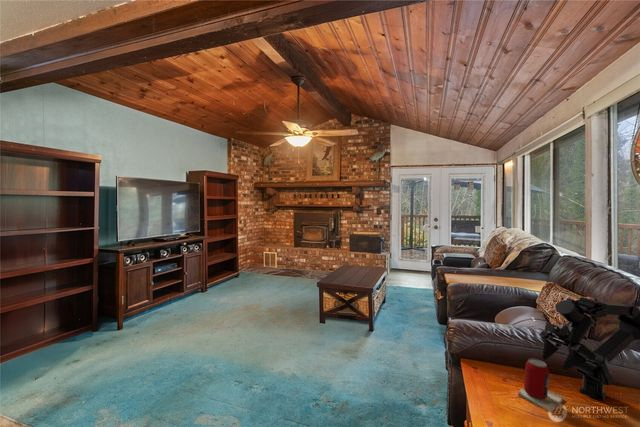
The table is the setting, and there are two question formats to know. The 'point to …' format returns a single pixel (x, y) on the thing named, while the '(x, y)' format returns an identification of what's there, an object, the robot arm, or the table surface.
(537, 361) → the beverage can
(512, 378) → the table surface
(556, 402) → the birch board
